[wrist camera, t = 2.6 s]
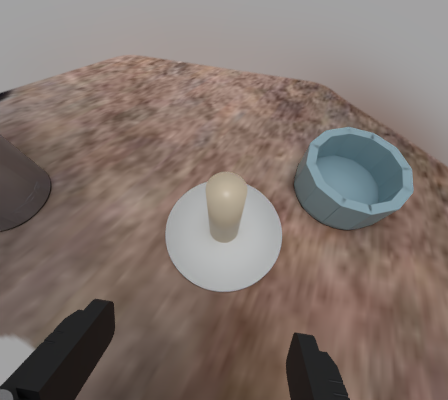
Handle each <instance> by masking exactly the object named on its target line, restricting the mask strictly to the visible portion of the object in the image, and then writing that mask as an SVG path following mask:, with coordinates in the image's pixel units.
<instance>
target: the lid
mask: <svg viewBox="0 0 448 400" xmlns="http://www.w3.org/2000/svg"><path fill="white" fill-rule="evenodd" d="M281 243H282V229H281V223H280V220H279V217H278V215H277V212H276V210H275V209H274V207H273V205H272V204H271V203H270V201H269V200H268V199H267V198H266V197H265V196H264V195H263V194H262V193H260V192H259V191H258V190H256V189H255V188H253V187H251V186H249V185H247V184H246V183H245V181H244V180H243V179H242V178H241V177H240V176H239V175H237V174H235V173H232V172H221V173H217V174H215V175H214V176H212V177H211V178H210V179H209V180H208V182H205V183H202V184H200V185H198V186H196V187H194V188H192V189H191V190H189V191H188V192H186V193H185V194H184V195H183V196H182V197H181V198H180V199H179V200H178V201H177V203H176V204H175V205H174V207H173V209H172V211H171V213H170V215H169V217H168V221H167V225H166V245H167V249H168V253H169V256H170V258H171V260H172V262H173V263H174V265H175V266H176V268H177V269H178V270H179V271H180V273H181V274H182V275H183V276H184V277H186V278H187V279H188V280H189V281H190V282H192V283H194V284H195V285H197V286H199V287H202V288H204V289H207V290H211V291H217V292H231V291H237V290H241V289H244V288H246V287H249V286H251V285H253V284H254V283H256V282H257V281H259V280H260V279H261V278H262V277H263V276H265V275H266V274H267V273H268V271H269V270H270V269H271V268H272V266H273V265H274V263H275V262H276V259H277V257H278V255H279V252H280V248H281Z"/></svg>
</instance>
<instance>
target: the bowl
mask: <svg viewBox="0 0 448 400" xmlns="http://www.w3.org/2000/svg"><path fill="white" fill-rule="evenodd" d="M294 188H295V193H296V196H297V198H298V200H299V202H300V204H301V205H302V207H303V208H304V209H305V210H306V211H307V212H308V213H309V214H310V215H311V216H312V217H313V218H315V219H316V220H318V221H319V222H321V223H323V224H325V225H327V226H330V227H332V228H336V229H342V230H354V229H359V228H363V227H365V226H370V225H372V224H374V223H376V222H378V221H379V220H381V219H383V218H385V217H386V216H388V215H390V214H392V213H393V212H395V211H397V210H399V209H400V208H401V206H402V205H403V204H404V203H405V202H406V200H407V199H408V198H409V197H410V196H411V194H412V193H413V177H412V169H411V167H410V166H409V164H408V163H407V161H406V160H405V159H404V157H403V156H402V154H401V153H400V152H399V150H398V149H397V148H396V147H395V146H393V145H392V144H390V143H388V142H387V141H385V140H384V139H382V138H381V137H379V136H378V135H376V134H375V133H371V132H367V131H363V130H359V129H355V128H351V127H346V128H339V129H333V130H326V131H325V132H323V133H322V134H321V135H320V136H319V137H317V138H316V139H315V140H314V141H312V142H311V143H310V145H309V147H308V148H307V150H306V152H305V154H304V156H303V158H302V160H301V161H300V163H299V165H298V168H297V172H296V175H295V179H294Z"/></svg>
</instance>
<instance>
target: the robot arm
mask: <svg viewBox="0 0 448 400" xmlns="http://www.w3.org/2000/svg"><path fill="white" fill-rule="evenodd" d="M50 186H51V185H50V179H49V176H48V174H47V173H46V172H45V171H44V170H43V169H42V168H41V167H39V166H38V165H37V164H36V163H34V162H33V161H32V160H31V159H30V158H28V157H27V156H26V155H25V154H23V153H22V152H21V151H20V150H19V149H17V148H16V147H15V146H14V145H12V144H11V143H10V142H9V141H8V140H6V139H5V138H4V137H3V136H1V135H0V231H3V230H7V229H10V228H13V227H15V226H18V225H20V224H21V223H23V222H25V221H26V220H28V219H29V218H31V217H32V216H33V215H34V214H36V213H37V211H38V210H39V209H40V208H41V207H42V206H43V204H44V203H45V201H46V200H47V197H48V195H49V192H50ZM114 331H115V316H114V303H113V302H112V301H106V300H100V299H94V300H93V301H92V302H91V303H90V304H89V305H88V306H87V307H86V308H85V309H84V311H83V310H77V311H76V312H74V313H73V314H71V315H70V316H68V317H67V318H65V319H64V320H63V321H62V322H61V323H60V324H59V325H58V326H57V327H56V328H55V329H54V331H53V333H51V334H50V335H49V336H48V337H47V338H46V339H45V340H44V342H43V343H41V344H40V345H39V346H38V347H37V349H36V350H35V351H34V352H33V353H32V354H31V355H30V356H29V357H28V358H27V359H26V360H25V361H24V363H22V364H21V366H20V367H19V368H18V369H17V370H16V371H15V372H14V373H13V374H12V375H11V376H10V377H9V378H8V379H7V380H6V381H5V382H4V383H3V384H2V385H1V386H0V400H75V398H76V396H77V395H78V393H79V392H80V390H81V388H82V387H83V385H84V384H85V382H86V380H87V379H88V377H89V376H90V374H91V372H92V371H93V369H94V368H95V366H96V364H97V363H98V361H99V360H100V358H101V357H102V355H103V353H104V352H105V350H106V349H107V347H108V345H109V344H110V342H111V340H112V338H113V335H114ZM286 373H287V380H288V386H289V392H290V397H291V400H350V398H348V393H347V391H346V388H345V386H344V385H343V380H342V378H341V375H340V373H339V370H338V367H337V365H336V364H335V363H334V361H333V360H332V359H331V357H330V356H329V355H328V353H327V352H321V351H319V349H318V346H317V343H316V340H315V338H314V336H313V335H307V334H301V333H294V334H293V338H292V341H291V345H290V348H289V352H288V355H287V360H286Z"/></svg>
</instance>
